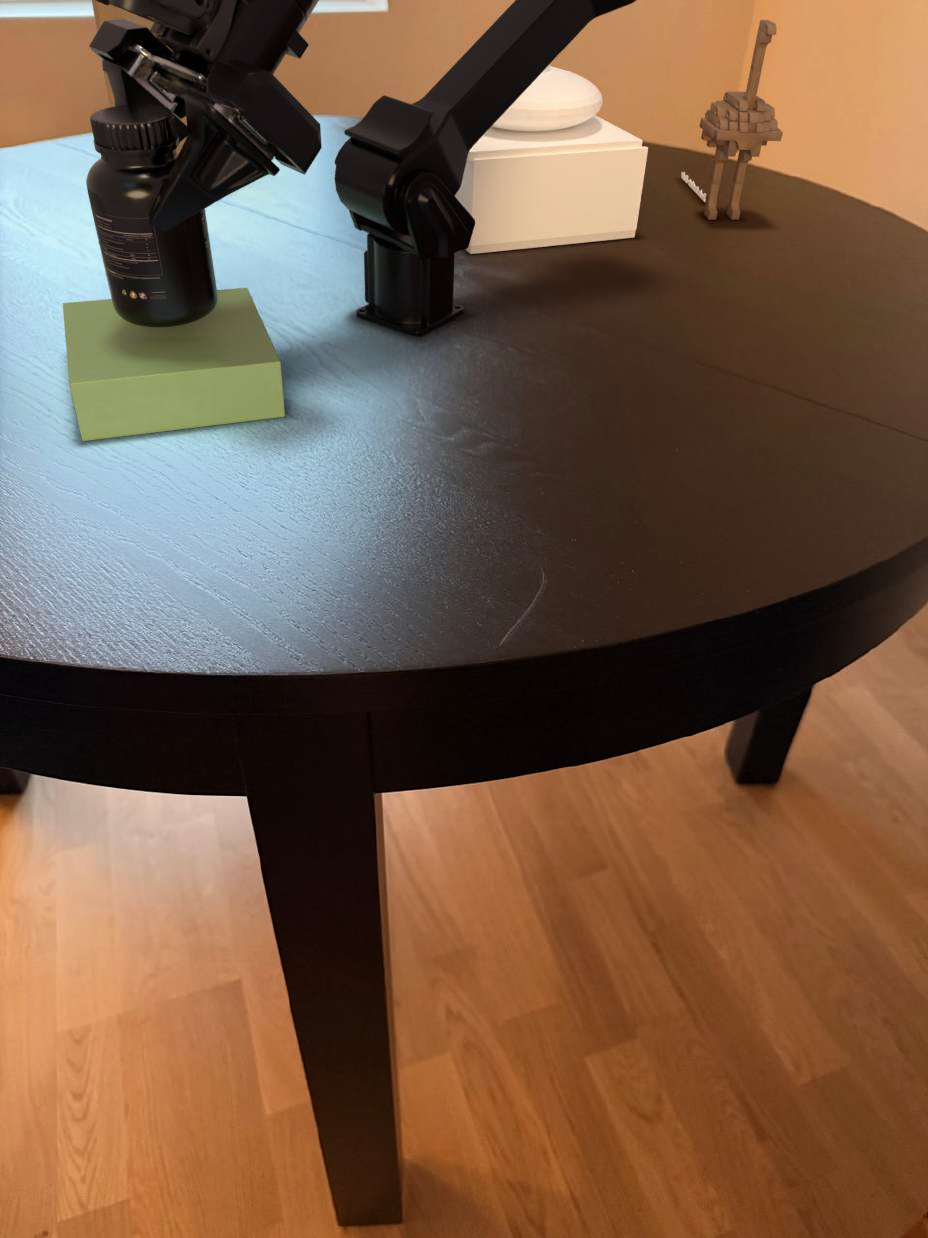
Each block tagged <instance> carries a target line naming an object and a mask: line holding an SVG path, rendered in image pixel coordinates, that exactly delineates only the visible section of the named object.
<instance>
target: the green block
mask: <svg viewBox="0 0 928 1238" xmlns="http://www.w3.org/2000/svg"><path fill="white" fill-rule="evenodd" d="M62 314H63V325H64V334H65V335H64V336H65V349H66V359H67V372H68V384H69V385H68V386H69V390H70V393H71V398H72V402H73V407H74V410H75V416H76V419H77V423H78V429H79V432H80V437H81V440H82V441H83V442H87V441H95V440H105V439H113V438H120V437H129V436H137V435H145V434H146V435H147V434H154V433H162V432H169V431H178V430H187V429H195V428H204V427H211V426H220V425H227V424H228V425H229V424H236V423H244V422H252V421H260V420H271V419H278V418H284V417H286V409H285V399H284V398H285V396H284V386H283V385H284V384H283V373H282V362H281V359H280V358H279V355H278V353H277V351H276V348H275V347H274V343H273V342H272V339H271V337H270V335H269V333H268V330H267V329H266V326H265V324H264V322H263V319H262V317H261V315H260V312H259V310H258V308H257V306H256V303H255V301H254V299H253V297H252V295H251V292H250V290H249V288H248V287H236V288H225V289H217V303H216V306H215V308H214V309H213V310H212V311H211V312H210V313H209V314H208V315H207V316H205V317H203V318H202V319H199V320H197V321H194V322H192V323H188V324H184V325H179V326H173V327H145V326H139V325H135V324H132V323H129V322H127V321H125V320H124V319H122V318H121V317H120V316H119V315H118V314H117V313H116V311H115V309H114V306H113V303H112V299H111V298H107V299H96V300H95V299H94V300H85V301H84V300H82V301H74V302H73V301H71V302H63V303H62Z"/></svg>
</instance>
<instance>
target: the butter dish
mask: <svg viewBox="0 0 928 1238" xmlns="http://www.w3.org/2000/svg"><path fill="white" fill-rule="evenodd" d="M603 101H604V100H603V95H602V93H601V91H600V90H599V89H598V87H597V86H596V85H595V84H594V83H592V82H591V81H590V80H589V79H587V78H585V77H583V76H582V75H579V74H577V73H574V72H572V71H569V70H566V69H563V68H559V67H556V66H551V64H550V65H549V66H548V67H547V68H546V69H545V70H544V71H543V72H542V73H541V74H540V75H539V76H538V78H537V79H536V80H535V81H534V82H533V83H532V84H531V85H530V86H529V87H528V88H527V89H526V90H525V91H524V92H523V94H522V95H521V96H520V97H519V98H518V99H517V100H516V101H515V102H514V103H513V104H512V105H511V106H510V107H509V108H508V110H507V111H506V112H505V113H504V114H503V115H502V116H501V117H500V118H499V119H498V120H497V121H496V122H495V123H494V124H493V126H492V127H491V128H490V129H489V130H488V131H487V132H486V133H485V134H484V135H483V136H482V137H481V138H480V139H479V140H478V142H477V143H476V144H475V145H474V146H473V147H472V148H471V150H470V151H469V153H468V157H467V161H466V166H465V170H464V175H463V179H462V184H461V187H460V189H459V191H458V192H457V193H456V195H455V197H456V198H457V199H458V201H459V202H460V203H461V204H462V205H463V206H464V208H465V209H466V210H467V211H468V212H469V213H470V215H471V216H472V217H473V218H474V219H475V226H474V230H473V233H472V237H471V240H470V243H469V247H468V248H467V249H465V250H464V251H466V252H468V253H469V254H470V255H473V254H474V255H475V254H485V253H495V252H504V251H505V252H506V251H513V250H515V251H516V250H524V249H525V250H526V249H534V248H543V247H545V248H546V247H552V246H564V245H573V244H584V243H592V242H594V243H595V242H602V241H603V242H604V241H615V240H623V239H631V238H632V239H633V238H635V237H636V232H637V227H638V220H639V214H640V207H641V200H642V194H643V187H644V179H645V172H646V165H647V160H648V153H649V147H648V146H643V141H644V140H643V139H641V138H639V137H637V136H636V135H633V134H631V133H630V132H628V131H626V130H624V129H622V128H620V127H619V126H617V125H614V124H613V123H611V122H609V121H606V120H605V119H603V118H602V117H599V116H597V114H598V113H599V112H600V111H601V109H602V106H603V103H604V102H603Z"/></svg>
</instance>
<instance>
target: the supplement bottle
mask: <svg viewBox="0 0 928 1238" xmlns="http://www.w3.org/2000/svg"><path fill="white" fill-rule="evenodd" d="M89 121H90V126H91V132H92V136H93V146H94V150H95V152H97V153H98V154H100V158H99V159H98V160H96V161H95V162H94V163H93V165H92V166H91V167H90V168H89V170H88V172H87V175H86V182H85V183H86V190H87V196H88V199H89V204H90V209H91V213H92V218H93V223H94V227H95V231H96V237H97V239H98V245H99V249H100V254H101V259H102V263H103V268H104V272H105V276H106V282H107V285H108V290H109V294H110V299H112V303H113V306H114V309H115V311H116V313H117V314H118V315H119V316H120V317H121V318H122V319H124V320H125V321H127V322H129V323H132V324H135V325H139V326H145V327H173V326H179V325H184V324H188V323H192V322H194V321H197V320H199V319H202V318H203V317H205V316H207V315H208V314H209V313H210V312H211V311H212V310H213V309H214V308H215V306H216V303H217V290H218V287H217V282H216V273H215V266H214V260H213V254H212V248H211V247H212V246H211V241H210V240H211V239H210V233H209V227H208V220H207V214H206V208H205V209H203V210H202V211H200V212H198V213H197V214H195V215H193V216H192V217H190V218H188V219H187V220H185V221H183V222H182V223H180V224H178V225H177V226H175V227H173V228H171V229H170V230H168V231H166V232H162V231H160V230H159V229H157V228H156V227H155V226H153V225H152V224H151V223H150V221H149V219H150V216H151V213H152V211H153V208H154V206H155V203H156V201H157V198H158V196H159V194H160V192H161V190H162V188H163V186H164V184H165V182H166V179H167V177H168V175H169V173H170V171H171V169H172V167H173V165H174V163H175V161H176V159H177V157H178V155H179V154H178V153H176V148H177V147H178V146H179V138H178V135H177V134H176V129H175V122H174V116H173V113H172V111H171V110H170V109H168V108H165V107H162V106H157V105H146V104H131V105H119V106H112V107H110V106H107V107H104V108H100V109H98V110H96V111H95V112H92V113H91V115H90V117H89Z"/></svg>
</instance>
